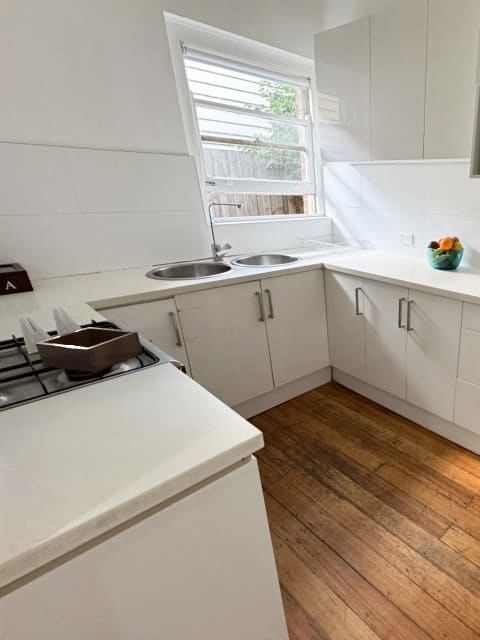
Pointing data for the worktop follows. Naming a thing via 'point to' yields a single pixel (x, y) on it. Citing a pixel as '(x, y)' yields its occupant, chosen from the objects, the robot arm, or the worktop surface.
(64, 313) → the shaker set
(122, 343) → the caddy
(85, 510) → the worktop surface
